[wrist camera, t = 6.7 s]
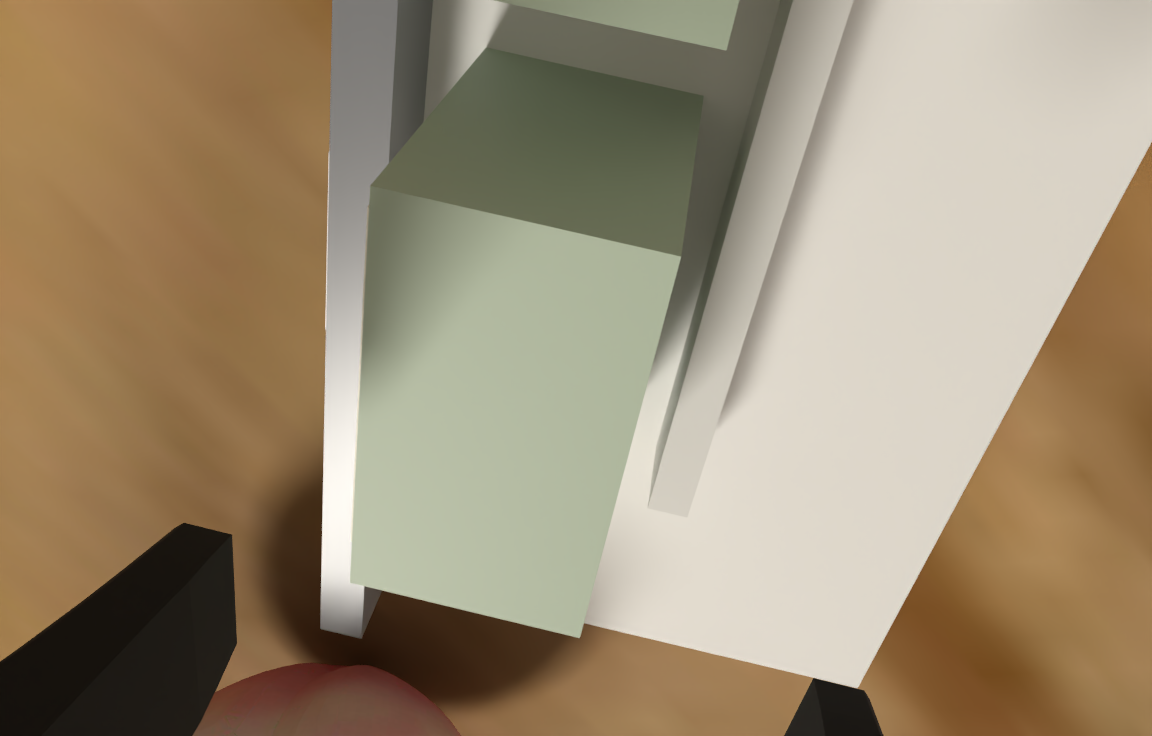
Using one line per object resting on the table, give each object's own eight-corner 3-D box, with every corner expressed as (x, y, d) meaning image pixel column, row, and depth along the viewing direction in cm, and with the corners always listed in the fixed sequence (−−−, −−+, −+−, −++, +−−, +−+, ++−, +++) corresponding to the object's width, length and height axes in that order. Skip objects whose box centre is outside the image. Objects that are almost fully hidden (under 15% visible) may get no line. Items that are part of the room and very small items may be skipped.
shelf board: (1538, -679, 11) (1780, -804, 8) (853, 649, 25) (865, 759, 22) (445, -880, 12) (353, -1058, 9) (365, 534, 25) (320, 629, 23)
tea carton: (622, 416, 20) (579, 638, 15) (441, 374, 20) (340, 580, 15) (703, 95, 16) (680, 256, 11) (477, 45, 16) (357, 182, 11)
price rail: (504, -921, 10) (457, -1041, 9) (388, 576, 24) (361, 638, 23) (401, -940, 11) (336, -1063, 9) (343, 566, 24) (313, 627, 23)
